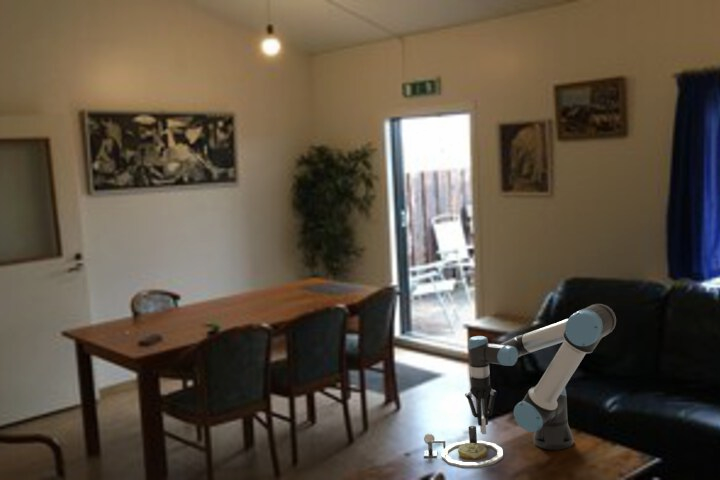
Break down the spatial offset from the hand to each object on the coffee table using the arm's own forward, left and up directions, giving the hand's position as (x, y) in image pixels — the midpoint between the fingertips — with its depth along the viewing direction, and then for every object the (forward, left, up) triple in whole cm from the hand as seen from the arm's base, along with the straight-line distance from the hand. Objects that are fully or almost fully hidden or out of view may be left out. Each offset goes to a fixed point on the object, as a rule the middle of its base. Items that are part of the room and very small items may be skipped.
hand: (483, 432), depth 292 cm
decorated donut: (+4, +12, -5) cm, 14 cm away
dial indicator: (+18, +12, -4) cm, 23 cm away
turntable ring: (+4, +12, -4) cm, 14 cm away
